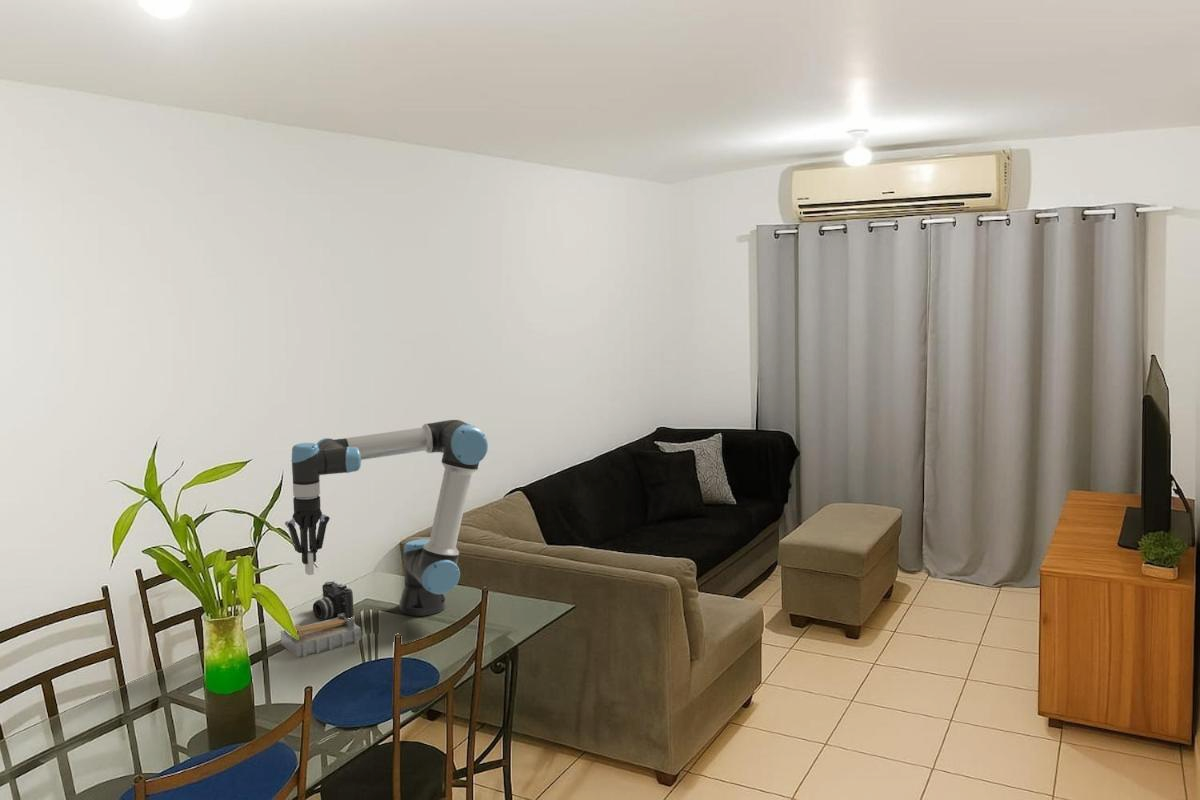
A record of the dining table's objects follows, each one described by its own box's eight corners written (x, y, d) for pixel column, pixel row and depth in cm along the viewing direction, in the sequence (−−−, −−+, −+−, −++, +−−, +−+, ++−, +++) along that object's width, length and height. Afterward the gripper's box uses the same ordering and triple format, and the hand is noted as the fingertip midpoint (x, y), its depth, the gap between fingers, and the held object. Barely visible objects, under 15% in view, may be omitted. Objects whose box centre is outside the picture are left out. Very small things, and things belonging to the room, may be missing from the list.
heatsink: (342, 627, 293) (341, 607, 292) (362, 641, 282) (361, 620, 281) (279, 643, 280) (279, 622, 279) (298, 658, 270) (297, 637, 269)
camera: (303, 614, 303) (302, 585, 301) (333, 605, 311) (332, 577, 309) (328, 626, 293) (327, 596, 292) (357, 617, 302) (357, 587, 300)
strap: (343, 619, 288) (344, 615, 288) (351, 624, 284) (351, 620, 284) (291, 630, 277) (291, 626, 277) (298, 635, 274) (298, 631, 273)
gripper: (322, 490, 280) (325, 565, 283) (279, 497, 271) (283, 574, 275) (333, 495, 274) (335, 572, 277) (290, 502, 266) (293, 581, 269)
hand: (309, 573), depth 276 cm, fingers closed
